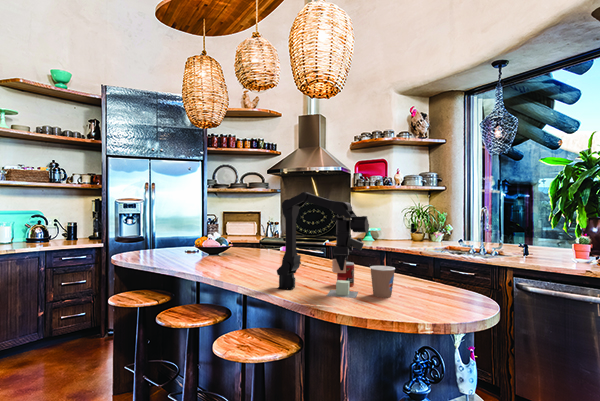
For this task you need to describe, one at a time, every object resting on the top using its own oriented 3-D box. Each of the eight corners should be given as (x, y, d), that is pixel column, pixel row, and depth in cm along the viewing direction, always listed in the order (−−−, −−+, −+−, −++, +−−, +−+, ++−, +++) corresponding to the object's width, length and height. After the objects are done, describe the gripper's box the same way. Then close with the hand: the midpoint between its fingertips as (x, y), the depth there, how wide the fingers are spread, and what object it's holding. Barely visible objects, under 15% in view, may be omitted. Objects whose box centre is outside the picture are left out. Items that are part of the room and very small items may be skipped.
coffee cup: (395, 300, 145) (396, 270, 145) (369, 298, 147) (369, 268, 147) (394, 294, 155) (394, 266, 155) (369, 293, 157) (369, 265, 157)
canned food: (348, 289, 165) (349, 264, 165) (333, 286, 170) (333, 262, 170) (357, 286, 171) (357, 262, 171) (342, 284, 176) (342, 261, 176)
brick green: (335, 294, 151) (336, 282, 151) (337, 292, 156) (337, 280, 156) (348, 295, 150) (348, 283, 150) (349, 292, 154) (349, 280, 155)
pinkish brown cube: (333, 272, 150) (333, 260, 150) (332, 270, 155) (332, 258, 155) (345, 272, 150) (346, 260, 151) (344, 270, 155) (344, 259, 156)
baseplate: (326, 297, 148) (326, 295, 148) (330, 291, 160) (330, 289, 160) (356, 299, 145) (356, 298, 145) (358, 293, 157) (358, 291, 157)
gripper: (361, 233, 142) (360, 274, 142) (364, 231, 160) (364, 267, 160) (332, 232, 145) (332, 272, 144) (339, 230, 163) (338, 265, 163)
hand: (342, 269), depth 153 cm, fingers closed on pinkish brown cube, 5 cm apart
